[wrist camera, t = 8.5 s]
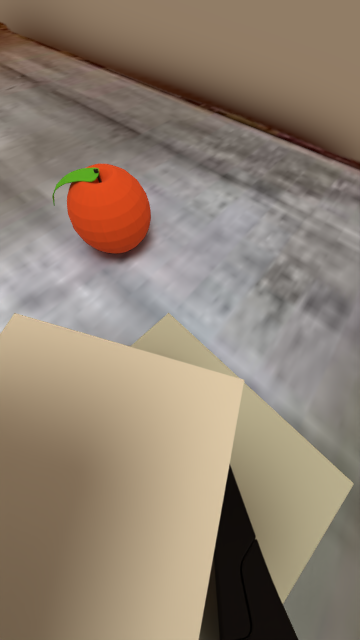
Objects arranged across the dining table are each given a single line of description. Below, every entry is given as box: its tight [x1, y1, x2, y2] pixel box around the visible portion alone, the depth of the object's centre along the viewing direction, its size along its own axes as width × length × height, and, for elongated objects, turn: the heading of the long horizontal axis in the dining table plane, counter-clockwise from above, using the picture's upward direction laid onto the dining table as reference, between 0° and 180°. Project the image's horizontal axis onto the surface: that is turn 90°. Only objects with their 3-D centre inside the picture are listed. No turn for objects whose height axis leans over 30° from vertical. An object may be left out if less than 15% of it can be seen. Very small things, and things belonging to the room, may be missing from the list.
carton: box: [0, 313, 244, 640], centre depth 8 cm, size 6×6×10 cm
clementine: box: [53, 164, 151, 253], centre depth 19 cm, size 8×7×7 cm
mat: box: [130, 313, 353, 604], centre depth 13 cm, size 22×16×1 cm
